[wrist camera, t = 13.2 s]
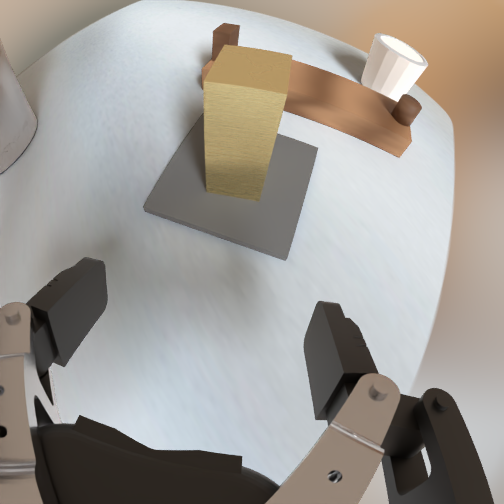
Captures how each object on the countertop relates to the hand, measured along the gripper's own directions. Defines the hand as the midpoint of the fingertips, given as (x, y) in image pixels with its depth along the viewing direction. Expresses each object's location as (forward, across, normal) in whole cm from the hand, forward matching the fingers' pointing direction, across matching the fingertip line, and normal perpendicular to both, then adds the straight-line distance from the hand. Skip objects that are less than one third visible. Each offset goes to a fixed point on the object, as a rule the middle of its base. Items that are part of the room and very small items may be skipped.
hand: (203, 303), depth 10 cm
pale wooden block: (+12, 0, -3) cm, 12 cm away
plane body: (+20, -5, -11) cm, 23 cm away
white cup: (+26, -14, -16) cm, 33 cm away
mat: (+12, 0, -3) cm, 13 cm away
